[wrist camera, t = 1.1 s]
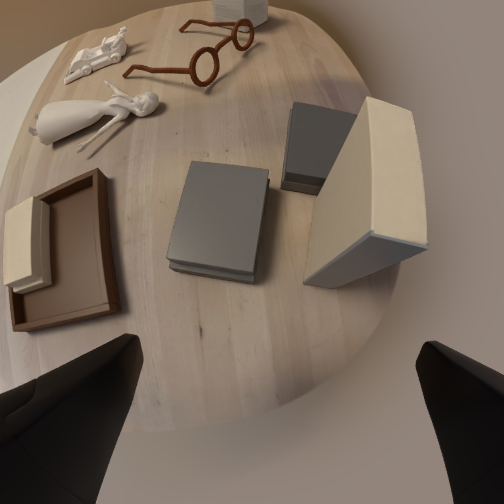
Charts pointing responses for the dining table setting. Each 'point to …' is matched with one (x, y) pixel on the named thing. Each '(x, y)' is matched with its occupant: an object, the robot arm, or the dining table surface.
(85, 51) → the toy car
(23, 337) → the dining table surface
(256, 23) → the white cardboard box
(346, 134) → the dark grey book stack
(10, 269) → the white book stack
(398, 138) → the white book
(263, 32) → the dining table surface
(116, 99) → the woman figurine
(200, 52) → the glasses
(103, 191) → the book tray
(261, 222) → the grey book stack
